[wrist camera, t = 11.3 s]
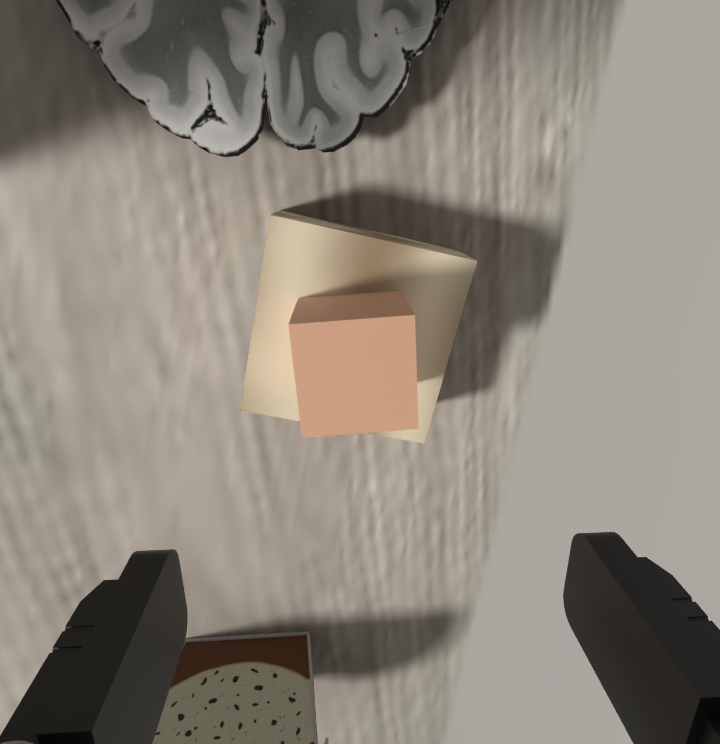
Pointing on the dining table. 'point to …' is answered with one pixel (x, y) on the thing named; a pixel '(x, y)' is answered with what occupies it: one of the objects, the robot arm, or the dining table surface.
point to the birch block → (351, 276)
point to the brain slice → (259, 63)
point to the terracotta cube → (354, 363)
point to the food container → (242, 692)
